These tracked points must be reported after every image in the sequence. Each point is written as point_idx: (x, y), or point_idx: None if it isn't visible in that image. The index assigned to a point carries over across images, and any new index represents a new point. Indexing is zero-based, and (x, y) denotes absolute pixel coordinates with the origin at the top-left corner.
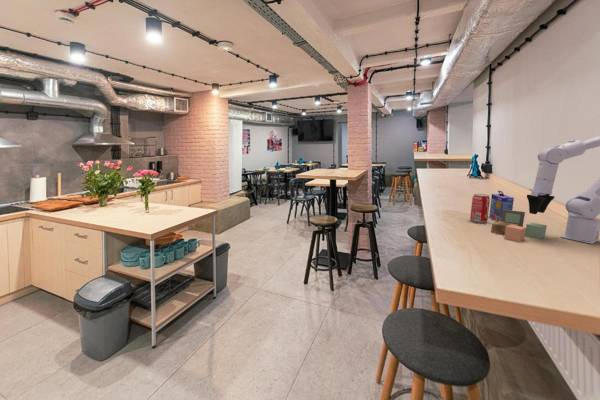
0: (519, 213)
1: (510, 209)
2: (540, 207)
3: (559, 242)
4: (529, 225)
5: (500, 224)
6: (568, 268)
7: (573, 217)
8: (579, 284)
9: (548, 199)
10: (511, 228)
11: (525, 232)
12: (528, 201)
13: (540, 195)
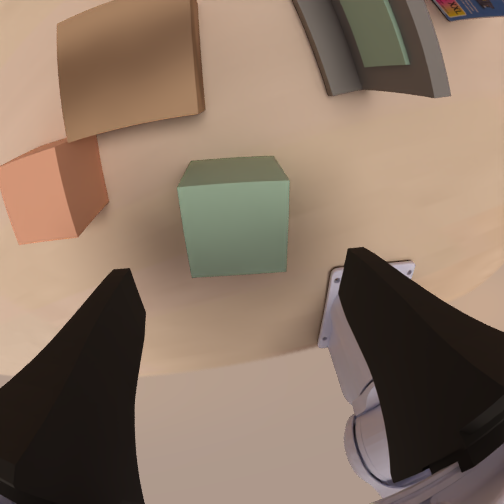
0: (413, 54)
1: (501, 3)
2: (371, 306)
3: (232, 293)
4: (180, 205)
5: (77, 57)
6: (28, 353)
7: (369, 379)
8: (3, 365)
9: (397, 437)
10: (6, 197)
11: (90, 221)
12: (19, 372)
13: (471, 428)
